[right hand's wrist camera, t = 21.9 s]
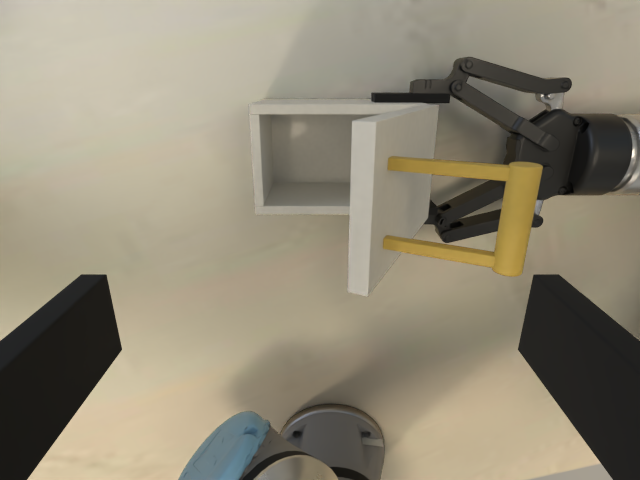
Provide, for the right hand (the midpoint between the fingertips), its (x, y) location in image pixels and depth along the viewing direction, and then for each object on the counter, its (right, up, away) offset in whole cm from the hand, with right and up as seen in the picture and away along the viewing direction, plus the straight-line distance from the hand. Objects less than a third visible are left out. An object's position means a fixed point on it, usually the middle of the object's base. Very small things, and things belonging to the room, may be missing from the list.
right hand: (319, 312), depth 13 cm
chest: (+2, +13, +32) cm, 34 cm away
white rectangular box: (+5, +6, +16) cm, 18 cm away
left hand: (+5, +10, +26) cm, 28 cm away
